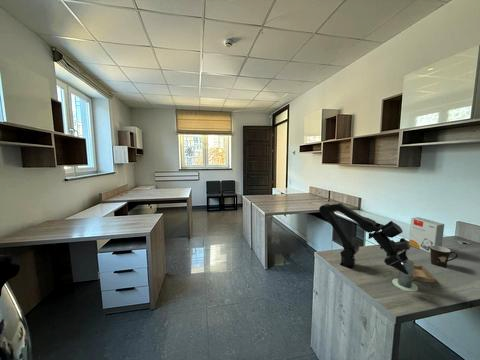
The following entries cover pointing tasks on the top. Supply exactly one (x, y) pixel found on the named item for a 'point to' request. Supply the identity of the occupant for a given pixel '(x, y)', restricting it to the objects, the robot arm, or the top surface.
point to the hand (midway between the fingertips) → (409, 270)
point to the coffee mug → (440, 255)
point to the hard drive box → (425, 233)
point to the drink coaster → (413, 288)
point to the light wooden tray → (422, 274)
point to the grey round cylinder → (404, 278)
